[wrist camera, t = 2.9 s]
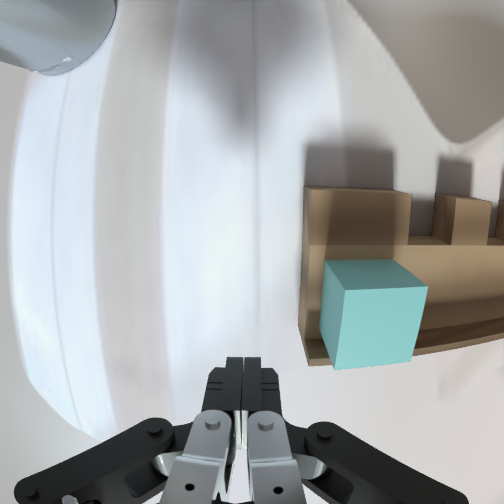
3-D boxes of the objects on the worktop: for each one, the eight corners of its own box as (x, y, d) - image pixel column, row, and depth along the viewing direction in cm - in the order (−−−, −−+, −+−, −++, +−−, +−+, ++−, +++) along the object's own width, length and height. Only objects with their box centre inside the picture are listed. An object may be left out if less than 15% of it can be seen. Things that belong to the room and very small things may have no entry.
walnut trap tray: (303, 186, 22) (321, 194, 16) (537, 206, 22) (576, 217, 16) (298, 326, 25) (309, 370, 19) (519, 304, 25) (551, 327, 19)
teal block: (324, 260, 20) (345, 290, 15) (393, 259, 20) (428, 286, 15) (318, 327, 21) (334, 370, 17) (383, 323, 21) (410, 361, 17)
